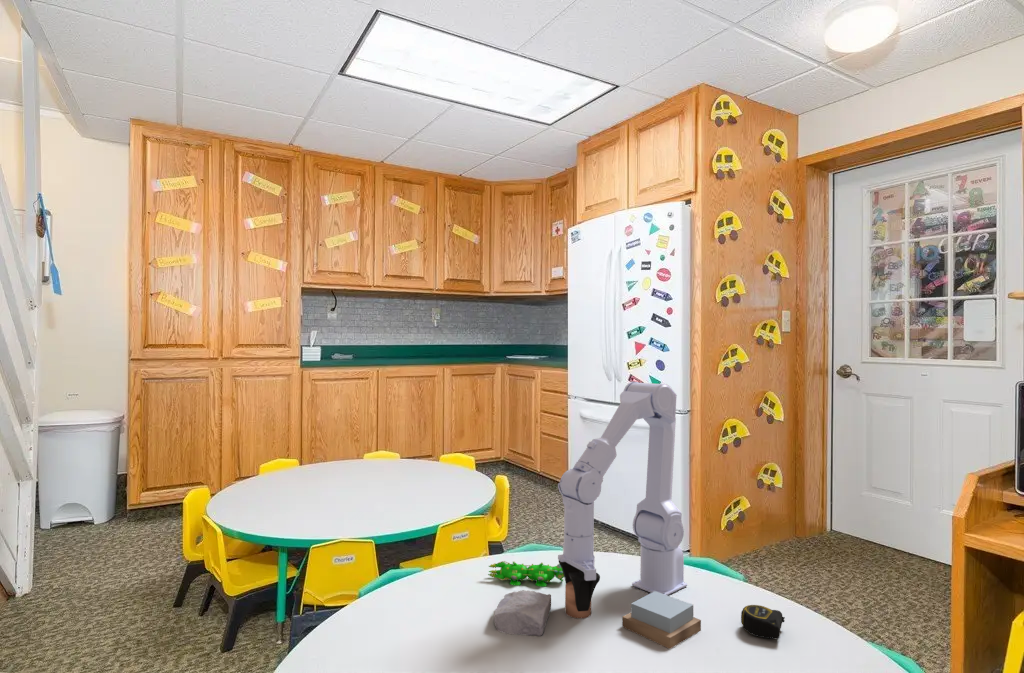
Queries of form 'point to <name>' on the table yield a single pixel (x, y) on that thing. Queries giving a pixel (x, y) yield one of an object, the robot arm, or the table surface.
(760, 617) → the tape measure
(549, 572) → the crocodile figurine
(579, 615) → the brown cylinder
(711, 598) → the table surface
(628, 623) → the tower base
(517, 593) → the stone block
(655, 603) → the tower top
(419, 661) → the table surface
